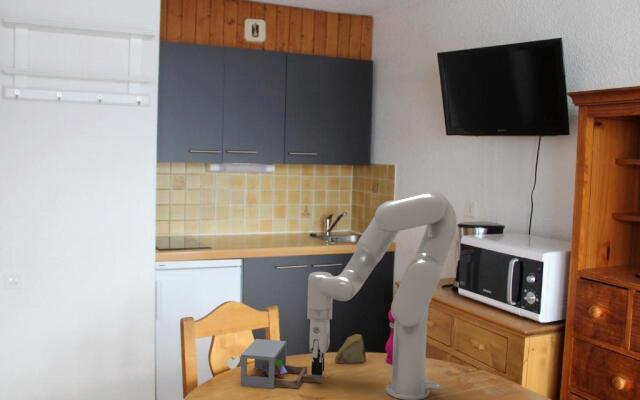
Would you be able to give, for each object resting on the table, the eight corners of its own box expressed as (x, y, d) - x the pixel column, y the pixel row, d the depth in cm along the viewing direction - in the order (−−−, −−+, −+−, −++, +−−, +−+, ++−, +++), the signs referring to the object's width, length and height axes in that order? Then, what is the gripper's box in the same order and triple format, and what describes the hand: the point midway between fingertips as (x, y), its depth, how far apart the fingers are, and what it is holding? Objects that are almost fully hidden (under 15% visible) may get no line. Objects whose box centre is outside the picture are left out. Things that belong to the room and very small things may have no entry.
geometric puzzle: (292, 376, 204) (286, 351, 208) (271, 379, 201) (265, 354, 204) (284, 384, 209) (278, 360, 213) (263, 387, 206) (258, 362, 210)
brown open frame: (325, 374, 212) (326, 352, 212) (318, 390, 199) (319, 366, 198) (270, 369, 215) (270, 347, 215) (258, 384, 202) (259, 361, 201)
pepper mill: (405, 366, 224) (408, 306, 222) (383, 364, 225) (385, 305, 223) (407, 359, 231) (409, 302, 229) (386, 357, 232) (388, 300, 230)
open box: (285, 370, 216) (286, 341, 215) (273, 388, 199) (274, 357, 199) (255, 367, 218) (255, 338, 217) (240, 385, 201) (241, 354, 200)
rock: (331, 359, 222) (361, 357, 219) (332, 334, 226) (361, 333, 224) (338, 370, 230) (367, 369, 228) (339, 346, 235) (367, 345, 233)
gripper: (327, 320, 195) (325, 383, 197) (335, 307, 212) (333, 365, 213) (302, 319, 197) (300, 380, 198) (312, 306, 213) (310, 363, 214)
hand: (317, 372), depth 206 cm, fingers closed on brown open frame, 3 cm apart
